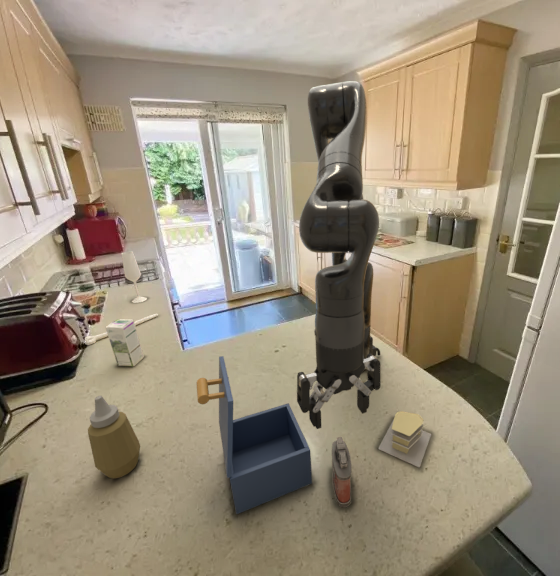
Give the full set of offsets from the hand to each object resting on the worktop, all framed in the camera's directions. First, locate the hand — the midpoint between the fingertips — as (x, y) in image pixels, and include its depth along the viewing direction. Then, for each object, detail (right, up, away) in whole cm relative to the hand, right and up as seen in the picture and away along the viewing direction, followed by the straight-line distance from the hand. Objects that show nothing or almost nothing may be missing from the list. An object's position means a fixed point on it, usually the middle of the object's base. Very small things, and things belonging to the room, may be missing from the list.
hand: (340, 417), depth 53 cm
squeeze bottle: (-45, -16, +12) cm, 49 cm away
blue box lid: (-20, 0, +3) cm, 20 cm away
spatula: (-82, +6, +71) cm, 109 cm away
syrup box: (-66, -2, +49) cm, 82 cm away
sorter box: (-14, -15, +11) cm, 23 cm away
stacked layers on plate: (+16, -12, +16) cm, 26 cm away
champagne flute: (-93, +16, +100) cm, 137 cm away
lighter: (+1, -16, +7) cm, 18 cm away
